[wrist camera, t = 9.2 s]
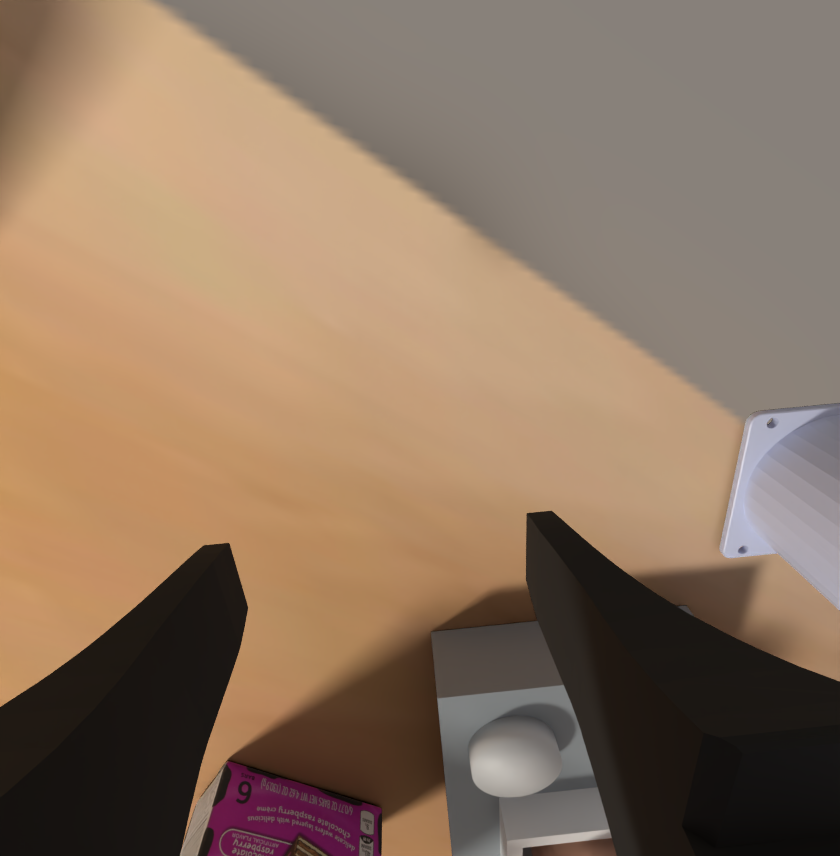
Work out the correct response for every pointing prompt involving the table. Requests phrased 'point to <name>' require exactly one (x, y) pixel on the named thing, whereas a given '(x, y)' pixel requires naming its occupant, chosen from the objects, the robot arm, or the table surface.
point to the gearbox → (511, 744)
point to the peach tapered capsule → (577, 848)
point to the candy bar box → (278, 819)
